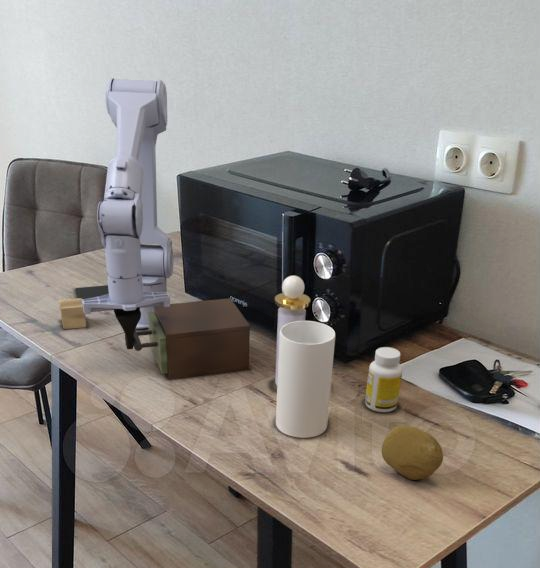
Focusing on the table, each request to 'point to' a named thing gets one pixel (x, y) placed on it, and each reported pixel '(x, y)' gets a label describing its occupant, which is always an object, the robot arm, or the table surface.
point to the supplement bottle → (384, 380)
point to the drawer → (154, 342)
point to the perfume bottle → (290, 307)
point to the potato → (412, 452)
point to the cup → (304, 378)
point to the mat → (92, 291)
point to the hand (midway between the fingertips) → (130, 346)
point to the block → (72, 313)
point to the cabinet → (204, 337)
